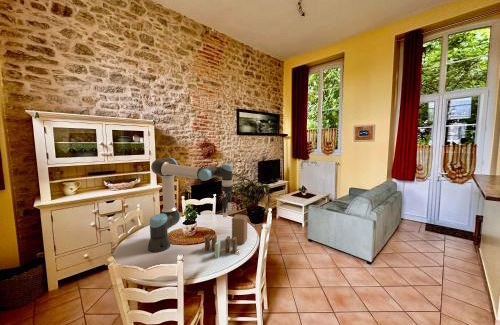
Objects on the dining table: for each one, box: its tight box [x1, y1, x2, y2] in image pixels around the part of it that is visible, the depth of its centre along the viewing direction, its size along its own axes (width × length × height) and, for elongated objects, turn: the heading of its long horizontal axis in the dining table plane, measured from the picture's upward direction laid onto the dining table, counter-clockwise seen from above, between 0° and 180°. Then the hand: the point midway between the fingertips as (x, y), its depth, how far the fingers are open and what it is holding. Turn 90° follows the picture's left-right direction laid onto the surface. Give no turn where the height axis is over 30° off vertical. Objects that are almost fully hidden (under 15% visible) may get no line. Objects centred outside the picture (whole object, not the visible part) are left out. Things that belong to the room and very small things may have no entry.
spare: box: [214, 240, 221, 259], centre depth 143 cm, size 2×5×10 cm, turn 171°
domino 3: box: [224, 235, 231, 253], centre depth 150 cm, size 2×5×10 cm, turn 171°
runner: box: [200, 245, 241, 256], centre depth 151 cm, size 28×8×1 cm, turn 81°
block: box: [231, 213, 248, 245], centre depth 165 cm, size 10×10×20 cm
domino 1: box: [204, 234, 211, 251], centre depth 152 cm, size 2×5×10 cm, turn 171°
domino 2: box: [211, 234, 218, 252], centre depth 151 cm, size 2×5×10 cm, turn 171°
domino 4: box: [231, 237, 238, 254], centre depth 149 cm, size 2×5×10 cm, turn 171°
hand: (227, 213), depth 155 cm, fingers open, 13 cm apart
